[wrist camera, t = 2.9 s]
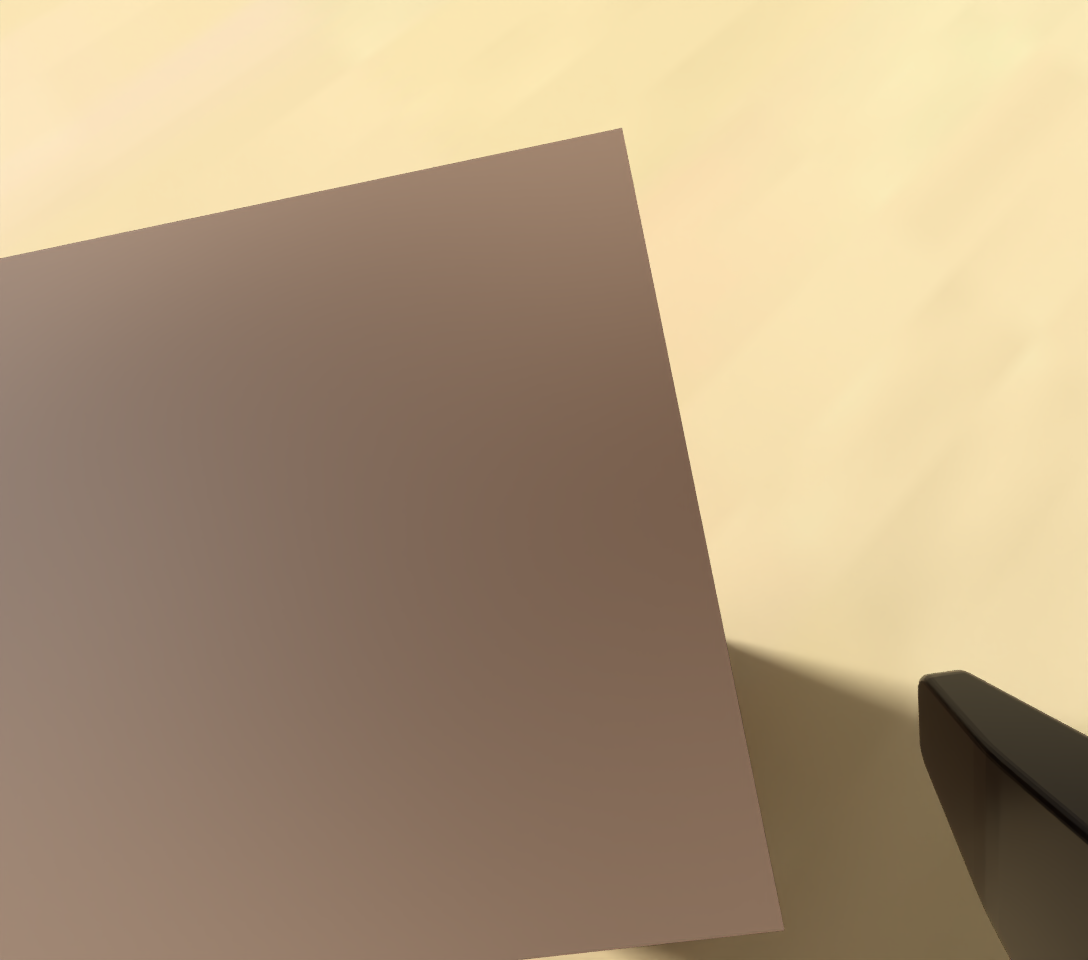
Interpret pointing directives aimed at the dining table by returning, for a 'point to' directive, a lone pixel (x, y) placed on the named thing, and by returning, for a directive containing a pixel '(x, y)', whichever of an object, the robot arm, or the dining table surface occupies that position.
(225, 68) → the dining table surface
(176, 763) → the walnut column
